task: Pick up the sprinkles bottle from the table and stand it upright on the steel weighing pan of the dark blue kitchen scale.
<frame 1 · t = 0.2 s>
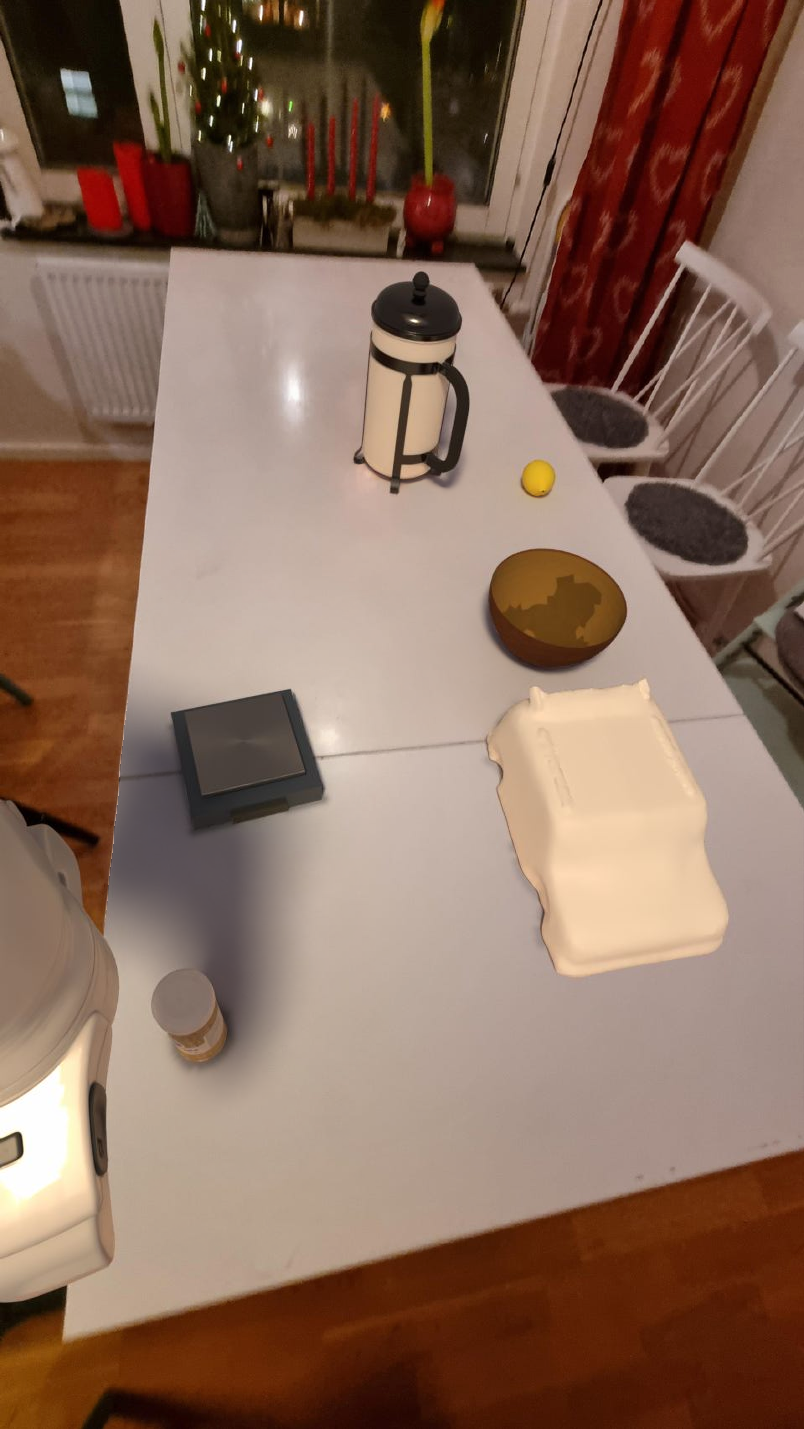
hand: (83, 1060, 39), 25 cm above the table, tool pointing down, fingers open, 8 cm apart
coffee press: (403, 471, 117), on the table
egg carton: (588, 838, 80), on the table
scale: (246, 762, 80), on the table
lemon: (534, 493, 117), on the table
scale pan: (243, 742, 77), point 4 cm above the table, slide at 0.0 cm
bowl: (537, 648, 96), on the table
sprinkles bottle: (202, 1036, 63), on the table
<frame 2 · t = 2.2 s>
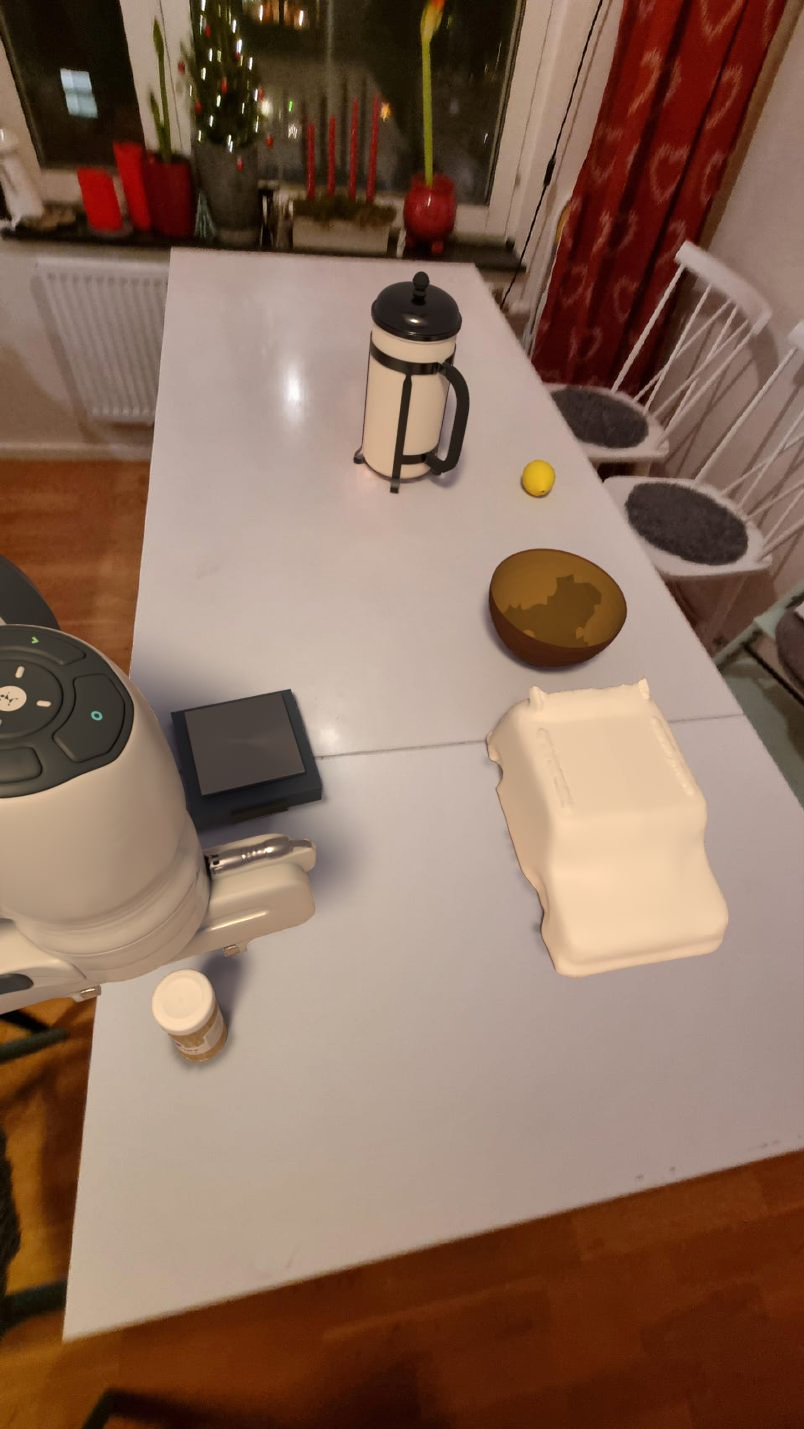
hand: (163, 964, 46), 21 cm above the table, tool pointing down, fingers open, 8 cm apart
nothing on the table moved.
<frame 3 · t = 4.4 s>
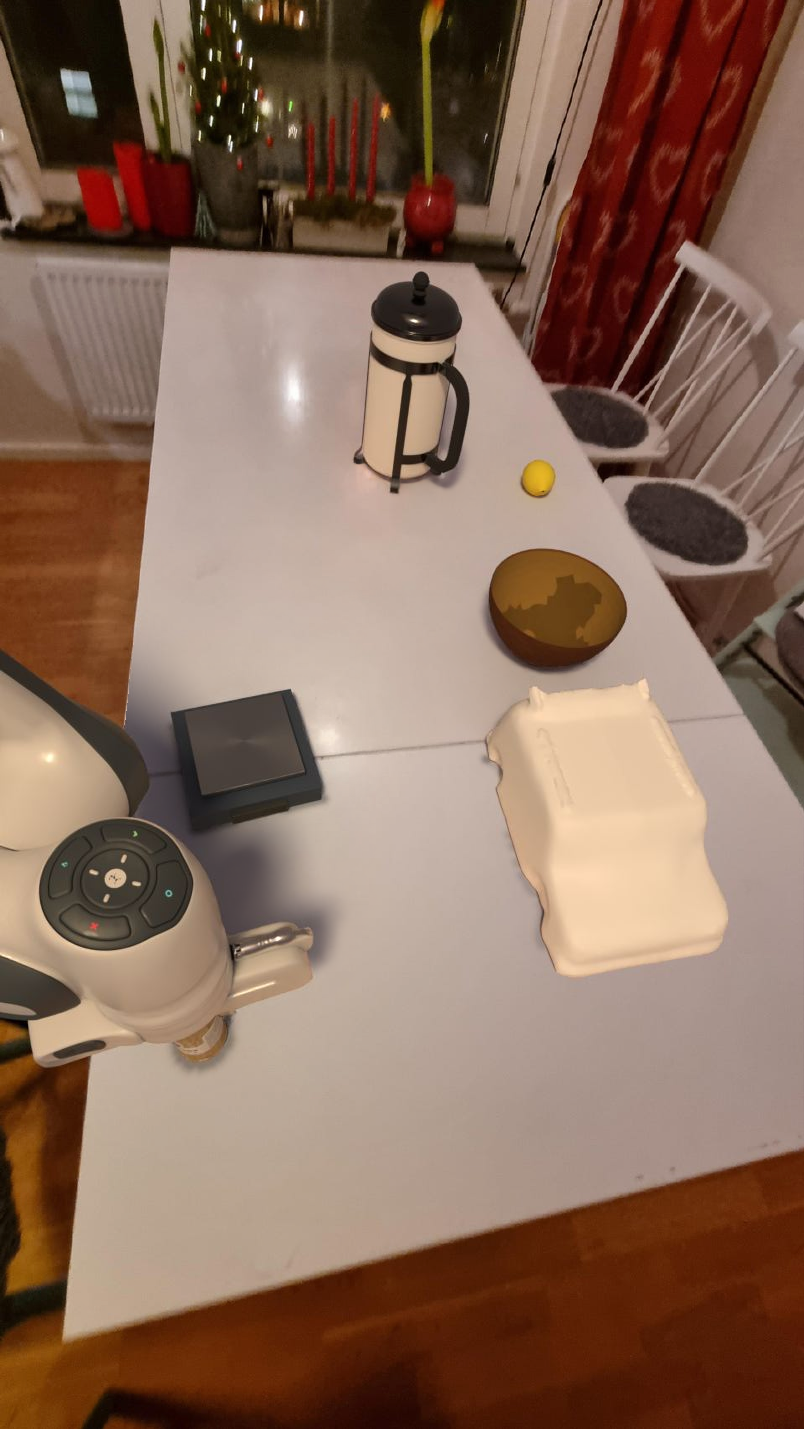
hand: (192, 1016, 59), 6 cm above the table, tool pointing down, fingers closed on sprinkles bottle, 4 cm apart
sprinkles bottle: (202, 1036, 63), on the table, touching gripper
everything else where it was.
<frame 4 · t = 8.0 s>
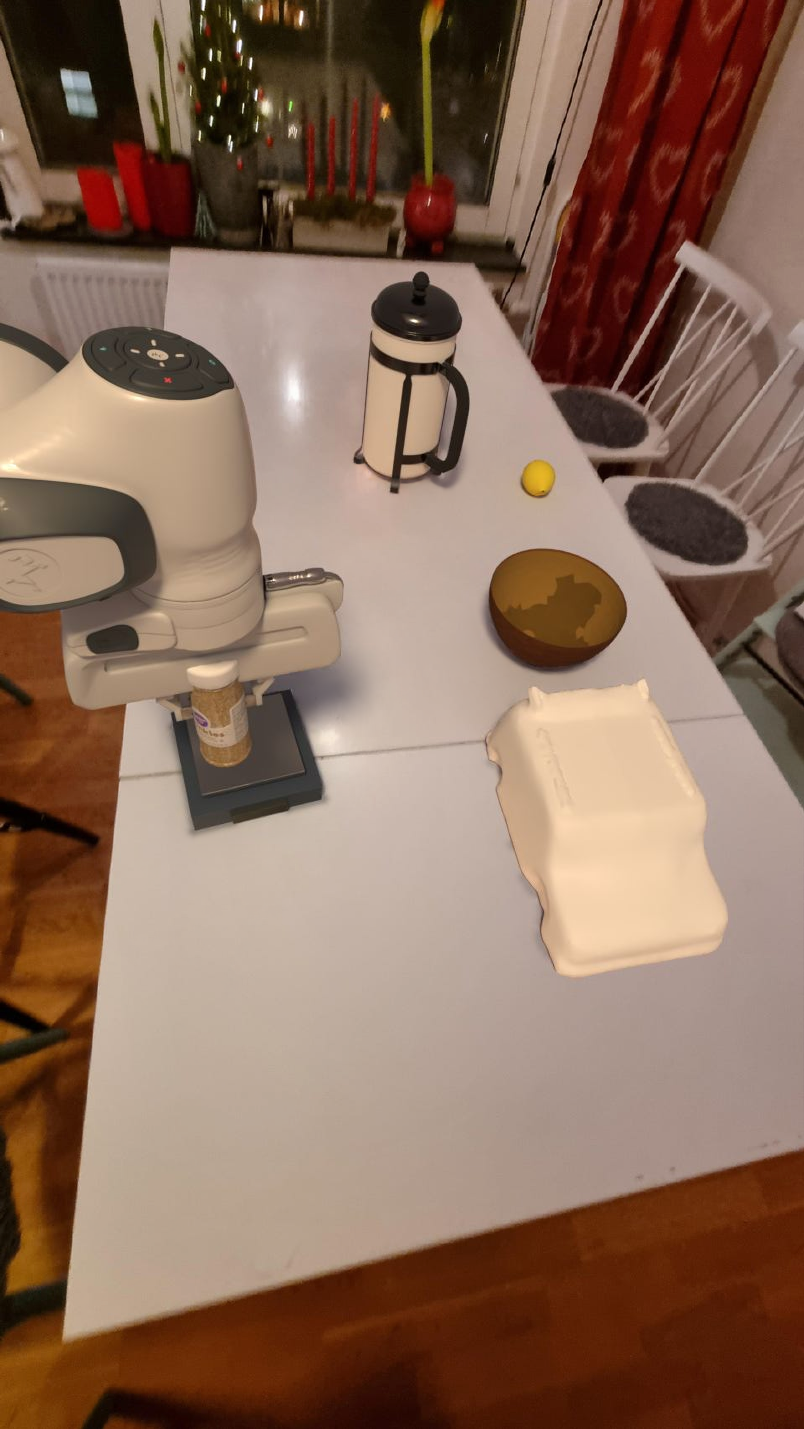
hand: (218, 706, 58), 21 cm above the table, tool pointing down, fingers closed on sprinkles bottle, 4 cm apart
sprinkles bottle: (227, 749, 63), point 16 cm above the table, touching gripper
everything else where it was.
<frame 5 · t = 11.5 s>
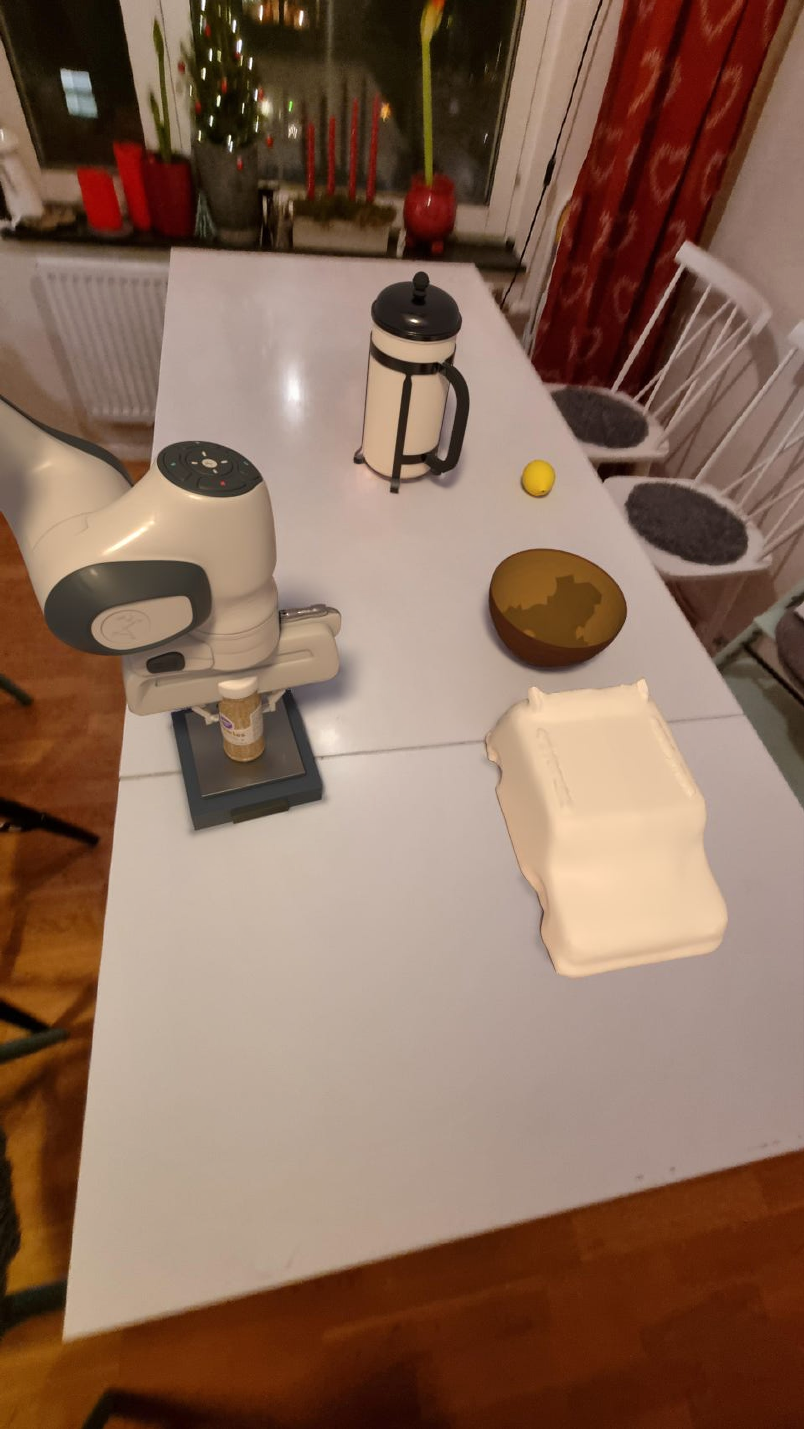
hand: (239, 712, 72), 10 cm above the table, tool pointing down, fingers closed on sprinkles bottle, 4 cm apart
scale pan: (244, 744, 77), point 4 cm above the table, slide at -0.3 cm, touching sprinkles bottle
sprinkles bottle: (245, 746, 77), point 4 cm above the table, touching gripper, scale pan
everything else where it was.
when the fingers open (10 cm above the table, at t = 11.6 s): sprinkles bottle stays where it is, resting on scale pan.
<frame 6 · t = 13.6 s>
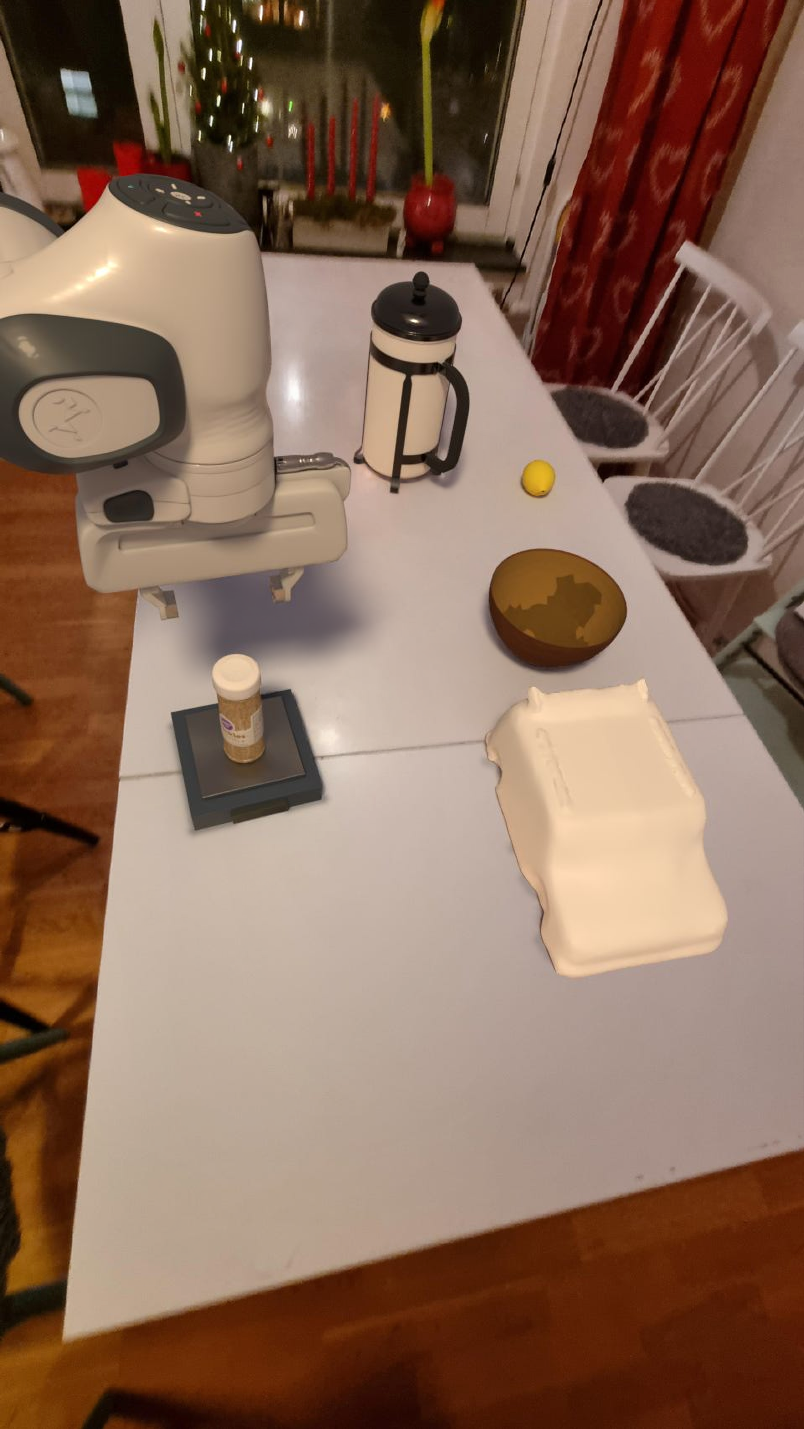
hand: (226, 605, 60), 26 cm above the table, tool pointing down, fingers open, 8 cm apart
sprinkles bottle: (245, 748, 77), point 4 cm above the table, touching scale pan
everything else where it was.
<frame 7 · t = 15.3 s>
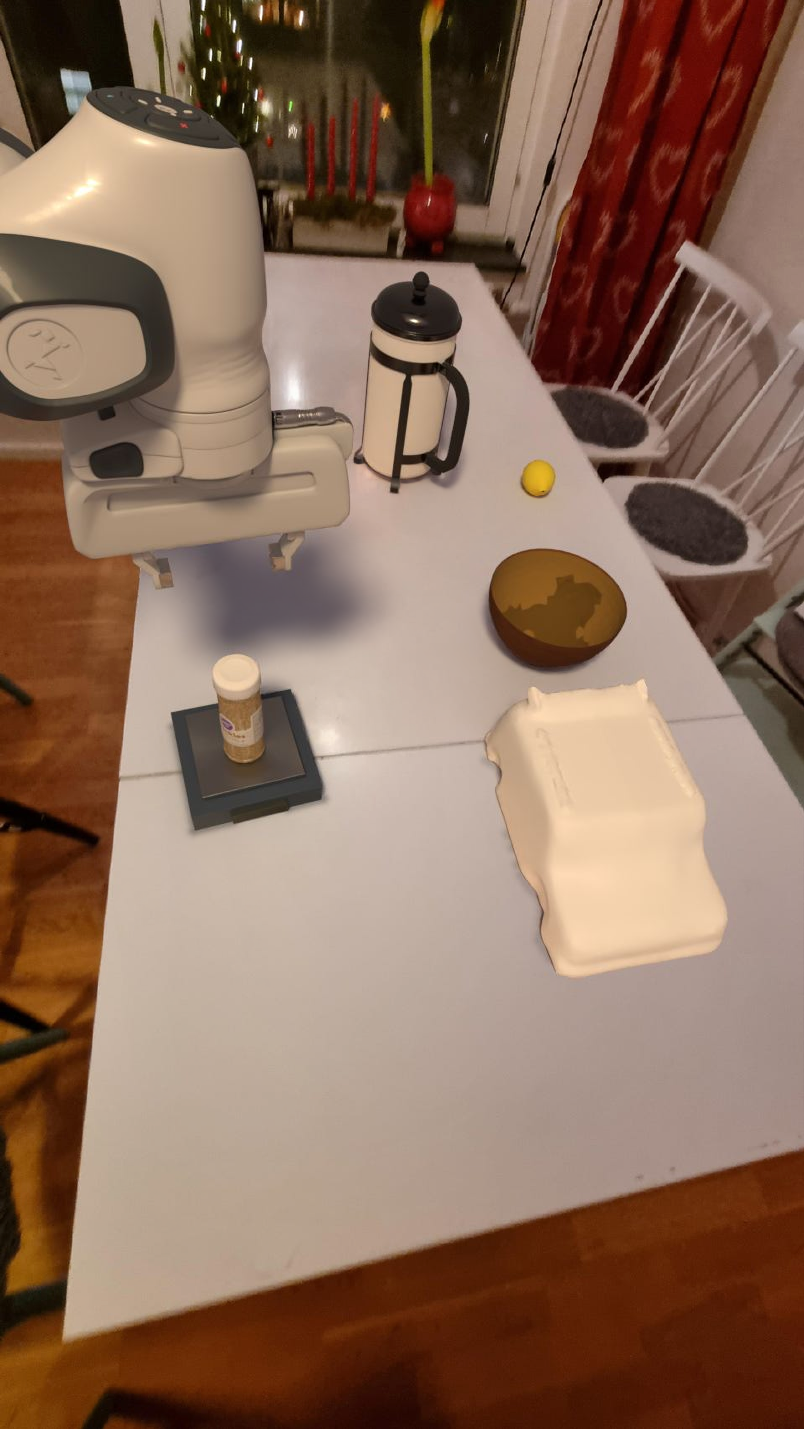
hand: (223, 574, 57), 29 cm above the table, tool pointing down, fingers open, 8 cm apart
nothing on the table moved.
at the end: sprinkles bottle inside the target area on the scale (0.5 cm from its centre), point 3.8 cm above the scale's base; sprinkles bottle tilted 0°; the gripper is holding nothing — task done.
